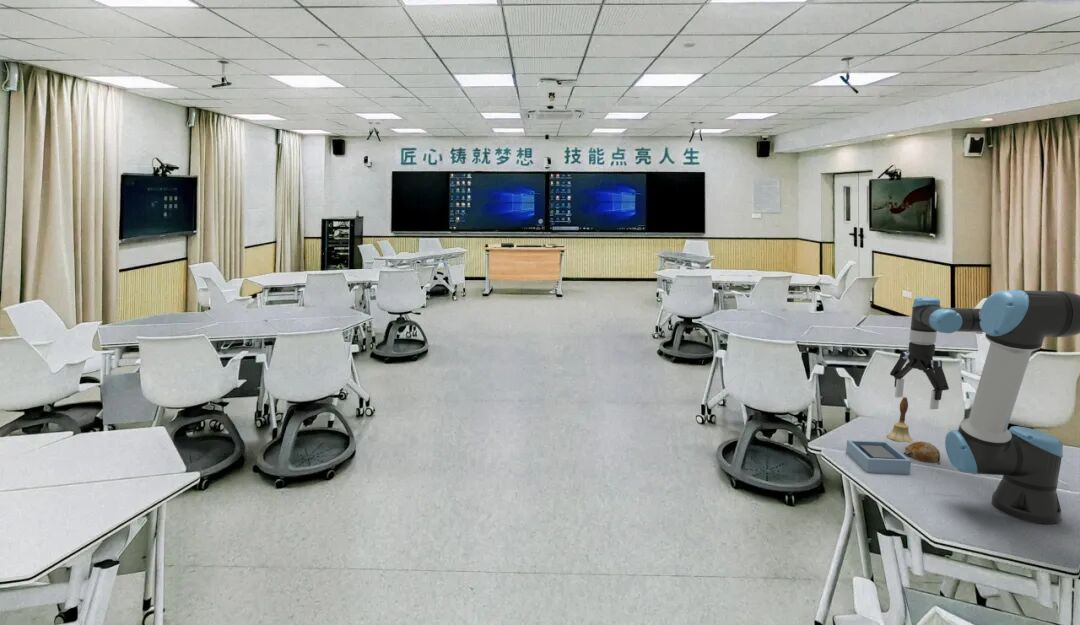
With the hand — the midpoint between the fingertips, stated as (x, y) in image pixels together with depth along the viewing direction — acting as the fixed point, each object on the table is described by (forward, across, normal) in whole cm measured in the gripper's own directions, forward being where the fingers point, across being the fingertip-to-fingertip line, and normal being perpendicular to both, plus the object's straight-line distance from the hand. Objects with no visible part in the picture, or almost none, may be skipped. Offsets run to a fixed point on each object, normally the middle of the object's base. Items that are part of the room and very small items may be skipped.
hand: (915, 402), depth 201 cm
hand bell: (+18, +12, -8) cm, 23 cm away
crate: (+18, -5, +20) cm, 28 cm away
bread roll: (+19, -5, +1) cm, 19 cm away
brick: (+18, -5, +20) cm, 27 cm away
